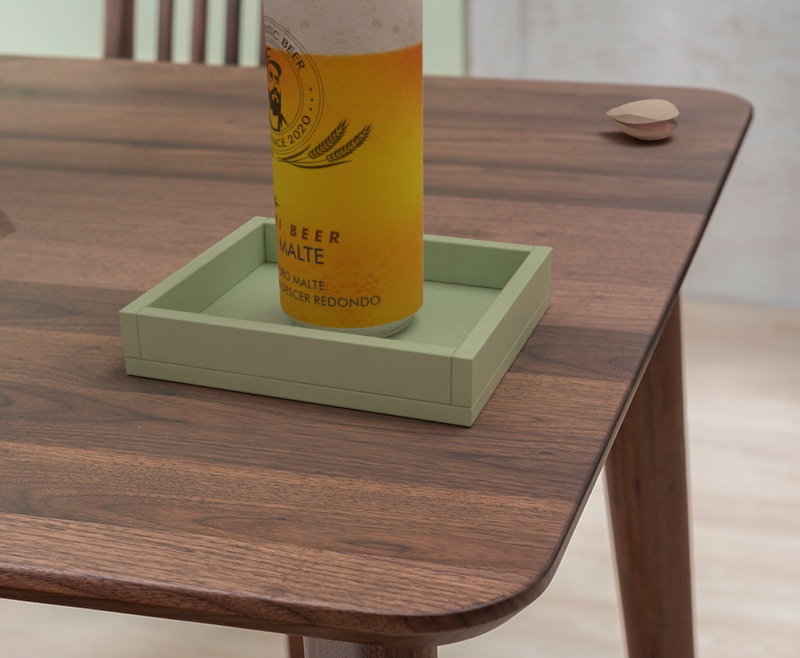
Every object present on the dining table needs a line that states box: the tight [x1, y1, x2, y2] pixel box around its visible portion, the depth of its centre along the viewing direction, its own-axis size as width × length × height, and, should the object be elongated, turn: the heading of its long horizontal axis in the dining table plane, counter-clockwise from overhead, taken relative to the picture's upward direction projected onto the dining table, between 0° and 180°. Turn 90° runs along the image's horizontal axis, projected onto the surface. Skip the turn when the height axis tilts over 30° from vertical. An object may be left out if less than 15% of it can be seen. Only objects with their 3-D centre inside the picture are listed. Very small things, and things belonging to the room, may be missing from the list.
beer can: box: [262, 0, 424, 338], centre depth 50 cm, size 6×6×15 cm
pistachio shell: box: [605, 98, 680, 142], centre depth 83 cm, size 4×5×2 cm
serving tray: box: [118, 215, 554, 428], centre depth 53 cm, size 15×13×3 cm
